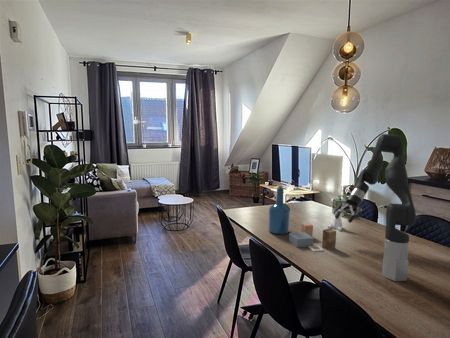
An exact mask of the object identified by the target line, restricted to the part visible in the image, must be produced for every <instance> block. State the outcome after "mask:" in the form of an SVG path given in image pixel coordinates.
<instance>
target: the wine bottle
mask: <svg viewBox="0 0 450 338" xmlns="http://www.w3.org/2000/svg"><path fill="white" fill-rule="evenodd" d="M284 192H285V191H284V187H283V185H280V184H279V185H278V186H277V188H276V200H275V201H276V202H275V203H274V204H272V205H270V206H269V208H268V226H267V228H268V232H269V233H272V234H275V235H287V234H288V233H289V232H290V221H291V208H290V206H289V205H288V204H286V203H284Z"/></svg>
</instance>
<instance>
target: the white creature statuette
mask: <svg viewBox="0 0 450 338" xmlns="http://www.w3.org/2000/svg"><path fill="white" fill-rule="evenodd" d="M336 213H337V211H336ZM336 213H335V214H334V216H335V215H336ZM343 215H344V214H342V213H341V214H340V216H339V218H338V219H336V218H335V217H334V219H333V223H332V224H331V223H330V224H329V225H327V229H332V230H335V231H338V232H341V231H342V230H343V227H344V225H343V219H342V217H343Z"/></svg>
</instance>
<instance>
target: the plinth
mask: <svg viewBox="0 0 450 338" xmlns="http://www.w3.org/2000/svg"><path fill="white" fill-rule="evenodd" d="M288 233H289V232H288ZM288 241H289V243H291V244H292V245H293V246H294V247H296V248H304V247H306V248H307V247H308V246H314V237H313V236H312V237H311V236H310V235H308V234H307V233H305V232H301V231H299V232H290V233H289V234H288ZM308 248H309V247H308Z"/></svg>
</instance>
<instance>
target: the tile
mask: <svg viewBox="0 0 450 338" xmlns="http://www.w3.org/2000/svg"><path fill="white" fill-rule="evenodd" d="M308 248H309V249H310V251H312V252H314V253H315V252H324V248H323V247H322V246H320V245H313V246H308Z"/></svg>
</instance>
